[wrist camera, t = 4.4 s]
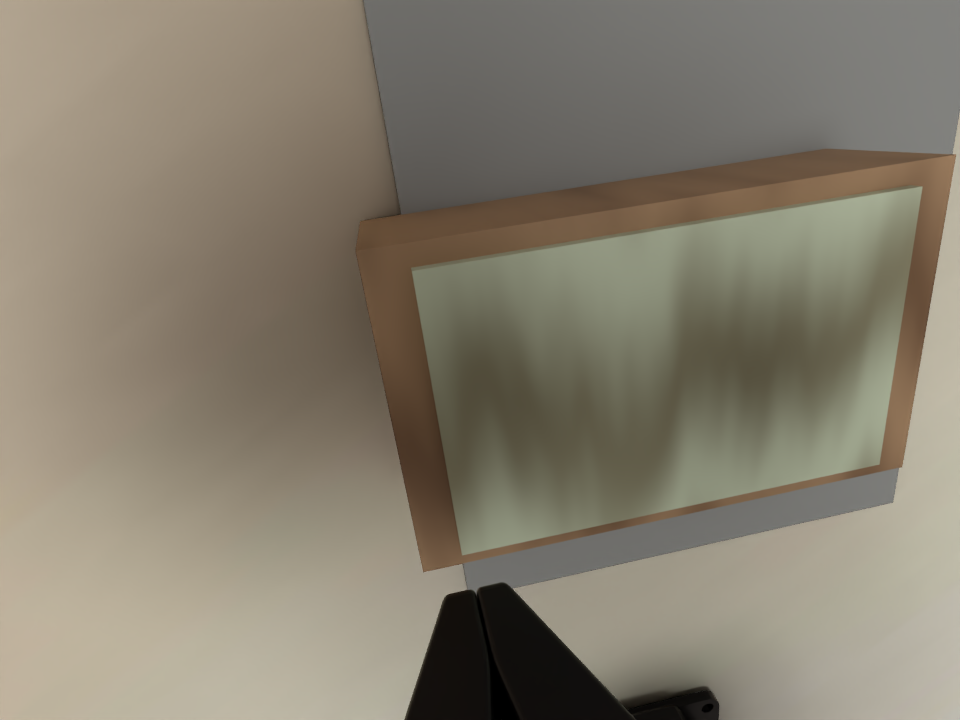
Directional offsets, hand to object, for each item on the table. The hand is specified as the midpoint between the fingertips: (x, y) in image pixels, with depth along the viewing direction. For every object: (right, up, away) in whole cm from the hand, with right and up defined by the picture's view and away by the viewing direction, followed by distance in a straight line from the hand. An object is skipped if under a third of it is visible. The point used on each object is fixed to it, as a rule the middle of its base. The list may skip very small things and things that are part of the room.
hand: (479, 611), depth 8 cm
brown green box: (-2, +3, +7) cm, 8 cm away
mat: (+6, +5, +10) cm, 13 cm away
